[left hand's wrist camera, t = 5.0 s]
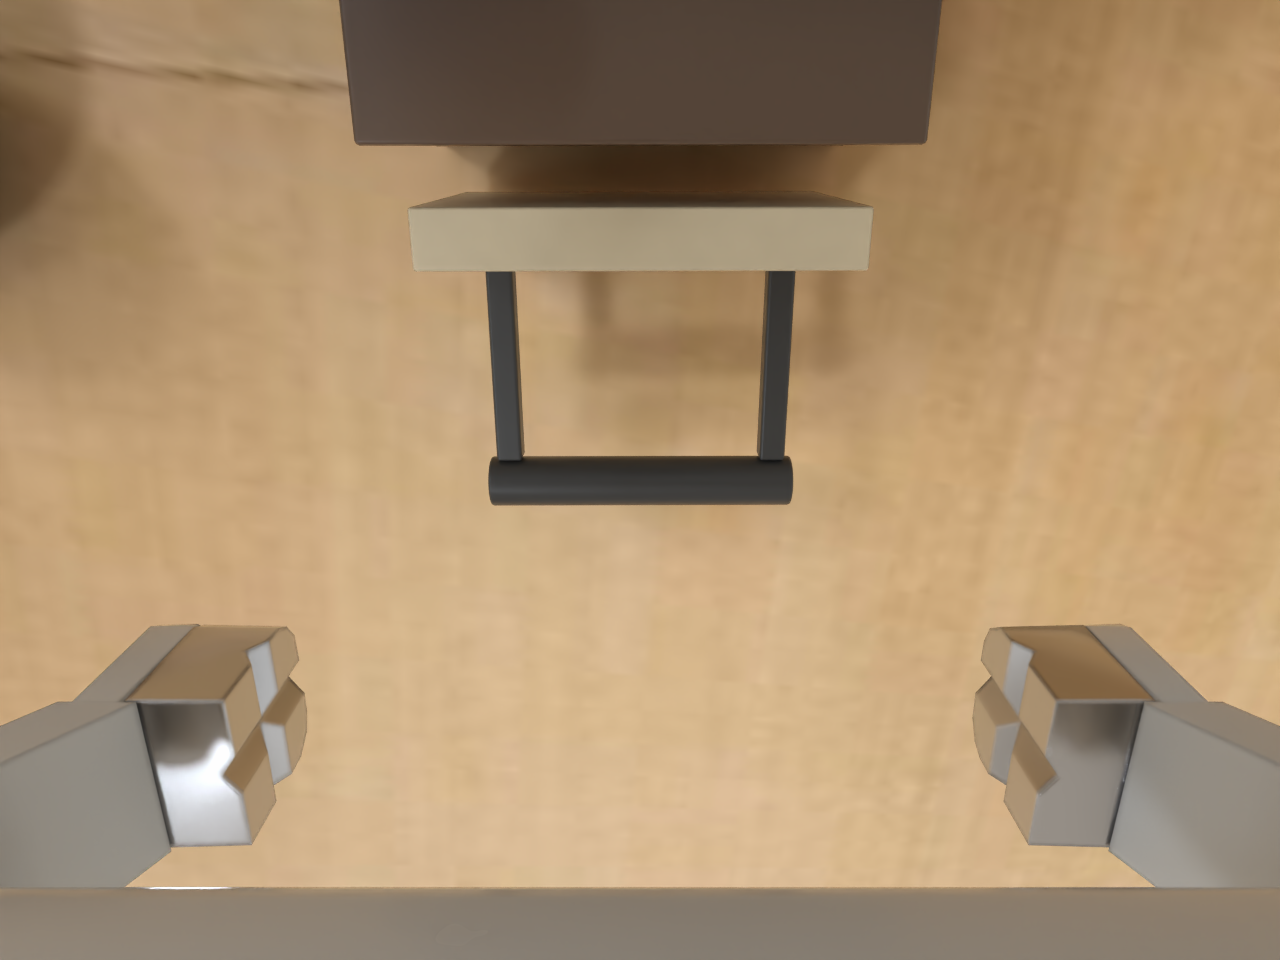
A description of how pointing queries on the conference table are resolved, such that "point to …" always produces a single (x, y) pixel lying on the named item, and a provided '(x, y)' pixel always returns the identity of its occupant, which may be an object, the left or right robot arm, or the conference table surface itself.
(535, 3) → the cabinet
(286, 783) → the conference table surface
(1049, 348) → the conference table surface
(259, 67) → the conference table surface
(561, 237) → the drawer
